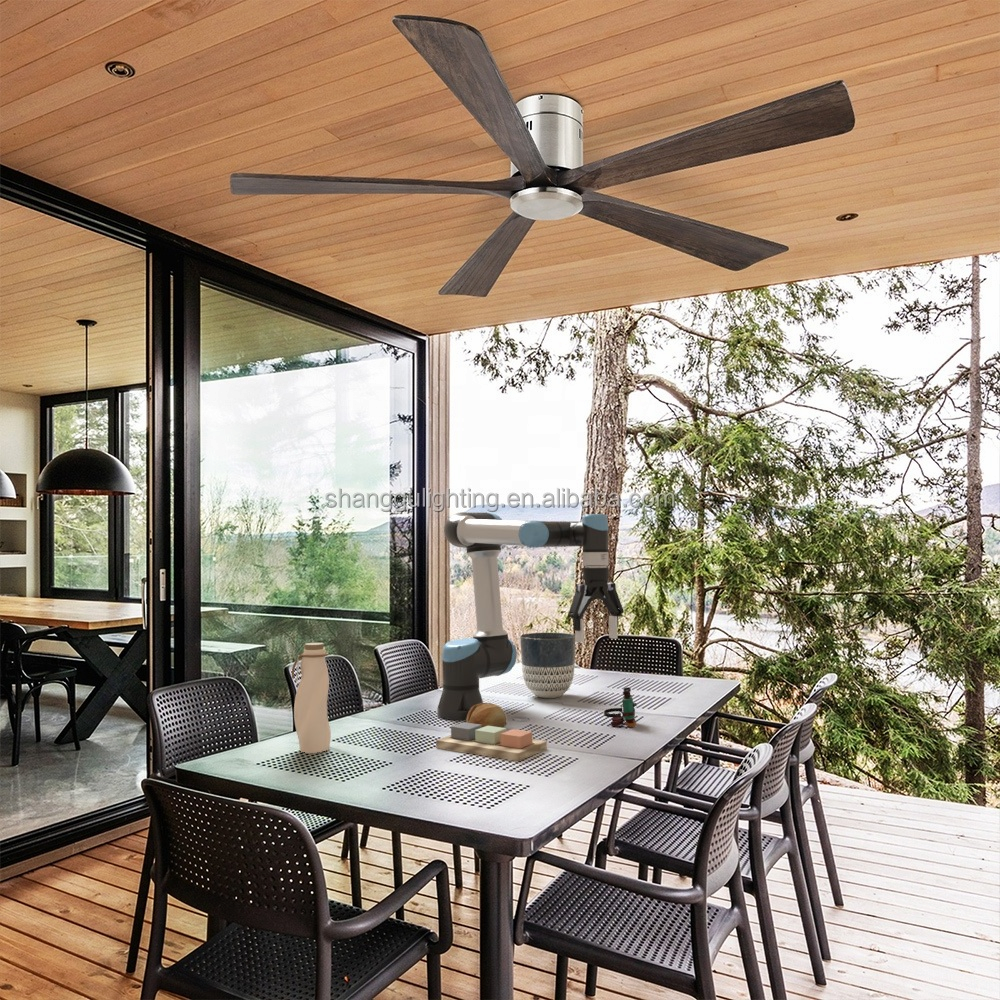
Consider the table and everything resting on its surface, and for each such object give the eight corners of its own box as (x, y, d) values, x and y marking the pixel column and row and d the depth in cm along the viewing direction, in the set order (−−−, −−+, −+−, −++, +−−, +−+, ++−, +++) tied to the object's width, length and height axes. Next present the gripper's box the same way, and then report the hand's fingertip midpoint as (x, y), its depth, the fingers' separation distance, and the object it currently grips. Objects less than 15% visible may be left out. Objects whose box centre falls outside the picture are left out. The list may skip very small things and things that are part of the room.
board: (436, 747, 213) (436, 740, 213) (466, 736, 225) (466, 729, 225) (518, 761, 199) (518, 753, 199) (546, 748, 210) (546, 741, 210)
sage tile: (475, 741, 211) (475, 730, 211) (488, 736, 216) (488, 725, 216) (494, 744, 208) (494, 732, 208) (506, 739, 213) (506, 728, 213)
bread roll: (457, 735, 227) (456, 706, 228) (486, 724, 240) (486, 697, 240) (484, 739, 222) (484, 710, 222) (513, 728, 234) (513, 700, 235)
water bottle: (296, 756, 206) (296, 647, 207) (288, 748, 213) (288, 643, 215) (335, 751, 210) (335, 644, 212) (326, 744, 218) (326, 641, 220)
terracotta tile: (500, 745, 206) (500, 733, 207) (513, 740, 212) (512, 729, 212) (520, 748, 203) (520, 736, 203) (532, 743, 208) (532, 731, 208)
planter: (585, 695, 283) (584, 634, 284) (560, 704, 267) (558, 640, 268) (538, 690, 293) (537, 631, 295) (510, 699, 277) (509, 637, 278)
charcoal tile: (451, 737, 215) (451, 726, 215) (464, 733, 220) (464, 722, 220) (469, 740, 212) (469, 729, 212) (482, 735, 217) (481, 724, 217)
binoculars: (602, 688, 243) (635, 686, 241) (606, 723, 242) (639, 721, 240) (599, 694, 234) (634, 691, 232) (604, 730, 233) (638, 728, 231)
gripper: (573, 568, 222) (574, 645, 221) (634, 565, 237) (636, 637, 236) (555, 567, 228) (556, 642, 227) (616, 565, 243) (617, 635, 242)
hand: (596, 640), depth 231 cm, fingers open, 13 cm apart
